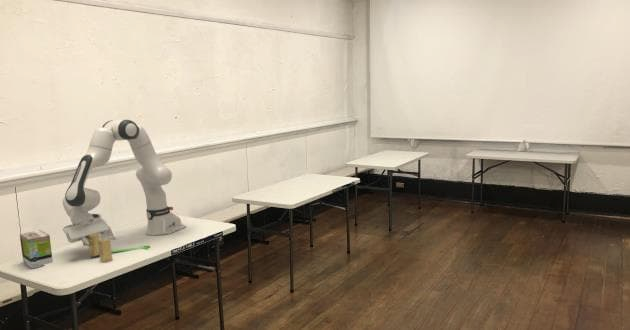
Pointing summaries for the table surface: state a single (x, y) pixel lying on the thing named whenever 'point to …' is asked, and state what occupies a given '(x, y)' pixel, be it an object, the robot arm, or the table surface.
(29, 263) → the tea box
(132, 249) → the wrench
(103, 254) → the tan wooden block
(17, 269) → the table surface
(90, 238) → the wooden block
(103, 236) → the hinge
